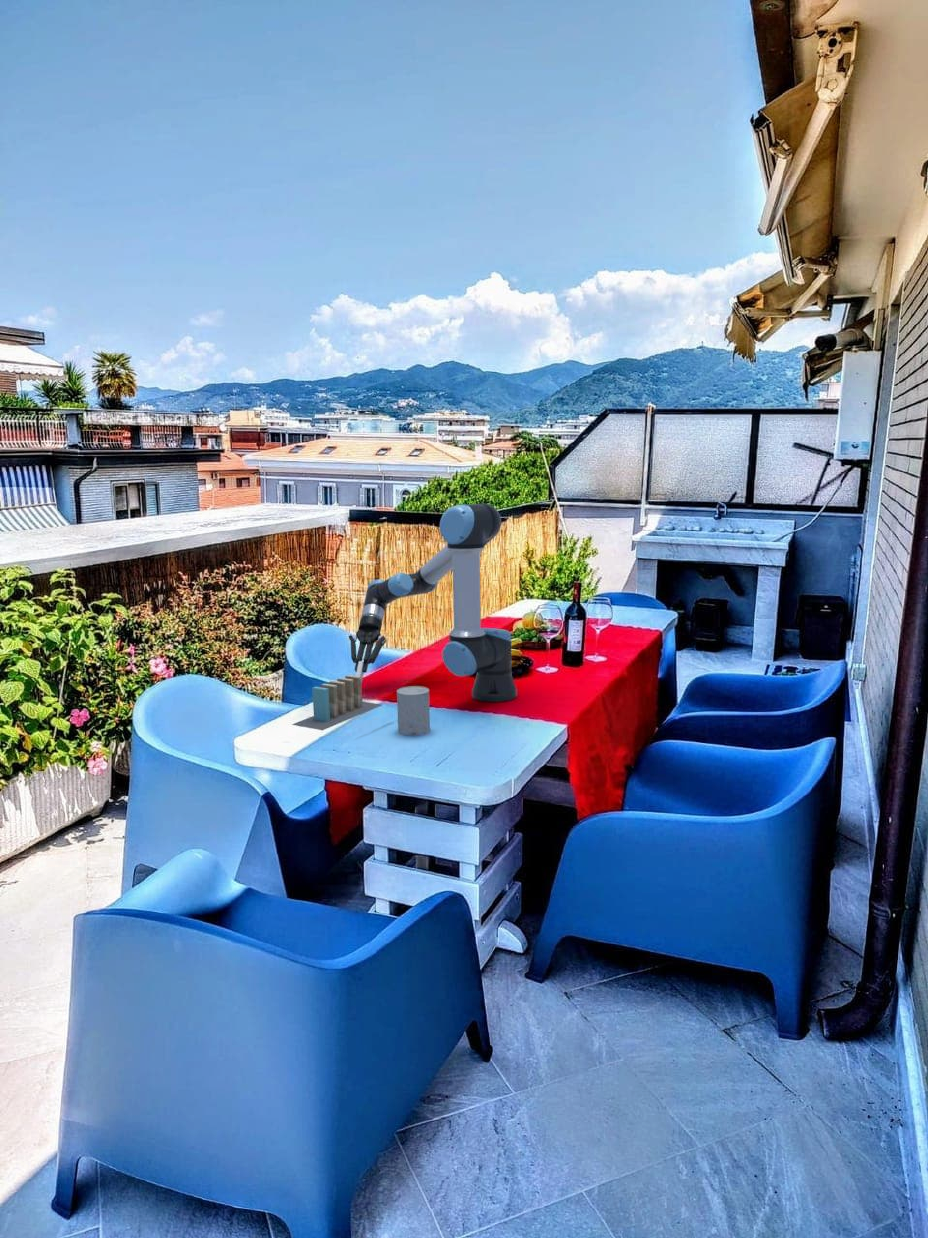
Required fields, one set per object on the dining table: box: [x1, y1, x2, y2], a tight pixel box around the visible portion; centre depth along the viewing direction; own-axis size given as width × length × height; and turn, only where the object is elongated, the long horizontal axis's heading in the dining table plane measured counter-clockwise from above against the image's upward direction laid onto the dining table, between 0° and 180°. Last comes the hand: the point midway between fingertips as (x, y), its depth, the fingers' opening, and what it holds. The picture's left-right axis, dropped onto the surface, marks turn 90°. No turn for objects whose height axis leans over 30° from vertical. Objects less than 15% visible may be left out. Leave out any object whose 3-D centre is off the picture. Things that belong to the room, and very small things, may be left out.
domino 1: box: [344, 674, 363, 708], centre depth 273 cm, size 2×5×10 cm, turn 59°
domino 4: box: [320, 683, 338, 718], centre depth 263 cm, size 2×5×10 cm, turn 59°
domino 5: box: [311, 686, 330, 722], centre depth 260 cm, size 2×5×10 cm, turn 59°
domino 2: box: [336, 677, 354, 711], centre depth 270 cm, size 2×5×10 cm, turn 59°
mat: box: [291, 700, 383, 731], centre depth 266 cm, size 30×12×1 cm, turn 149°
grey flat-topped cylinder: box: [396, 685, 431, 737], centre depth 251 cm, size 10×10×12 cm
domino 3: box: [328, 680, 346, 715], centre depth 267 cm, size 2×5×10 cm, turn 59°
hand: (358, 680), depth 278 cm, fingers closed
